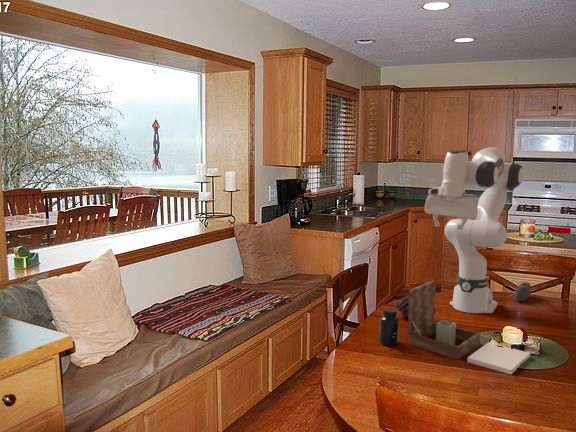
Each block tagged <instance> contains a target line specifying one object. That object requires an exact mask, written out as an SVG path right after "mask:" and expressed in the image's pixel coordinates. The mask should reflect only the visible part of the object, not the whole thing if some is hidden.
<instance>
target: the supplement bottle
mask: <svg viewBox="0 0 576 432" xmlns="http://www.w3.org/2000/svg"><path fill="white" fill-rule="evenodd" d="M397 315H398V314H397V310H396V308H384V309H383V310H382V316H381V317H380V319H379V332H378V341H379V343H380V344H381V345H385V346H396V345H398V343H399V335H400V334H399V331H400V320H399V318H398V317H397Z"/></svg>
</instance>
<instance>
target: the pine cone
mask: <svg viewBox="0 0 576 432" xmlns="http://www.w3.org/2000/svg"><path fill="white" fill-rule="evenodd" d="M394 309H398V312H400V315H402V316H403V317H405V318H407V319H408V316H409V295H405V296H404V297H402V299H399V300H395V305H394ZM434 314H436V309H435V308H434Z"/></svg>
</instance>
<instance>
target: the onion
mask: <svg viewBox="0 0 576 432" xmlns="http://www.w3.org/2000/svg"><path fill="white" fill-rule="evenodd" d="M515 328H517V329H520V330H521V331H522V332H523V342H526V341H527V342H528V341H529V335H528V332H527V331H526V329H525V328H524V327H522V325H520V324H519V325H517V327H516V326H515ZM527 342H526V343H527Z"/></svg>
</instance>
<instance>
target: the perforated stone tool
mask: <svg viewBox="0 0 576 432" xmlns="http://www.w3.org/2000/svg"><path fill="white" fill-rule="evenodd" d="M531 294H532V291H531V283H530V282H526V281H525V282H522V283H521V284H519V285H518V286H517V287H516V289H515V292H514V296H515V301H517V302H524V301H525V300H527V299H528V298H529V297H530V296H531Z"/></svg>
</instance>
